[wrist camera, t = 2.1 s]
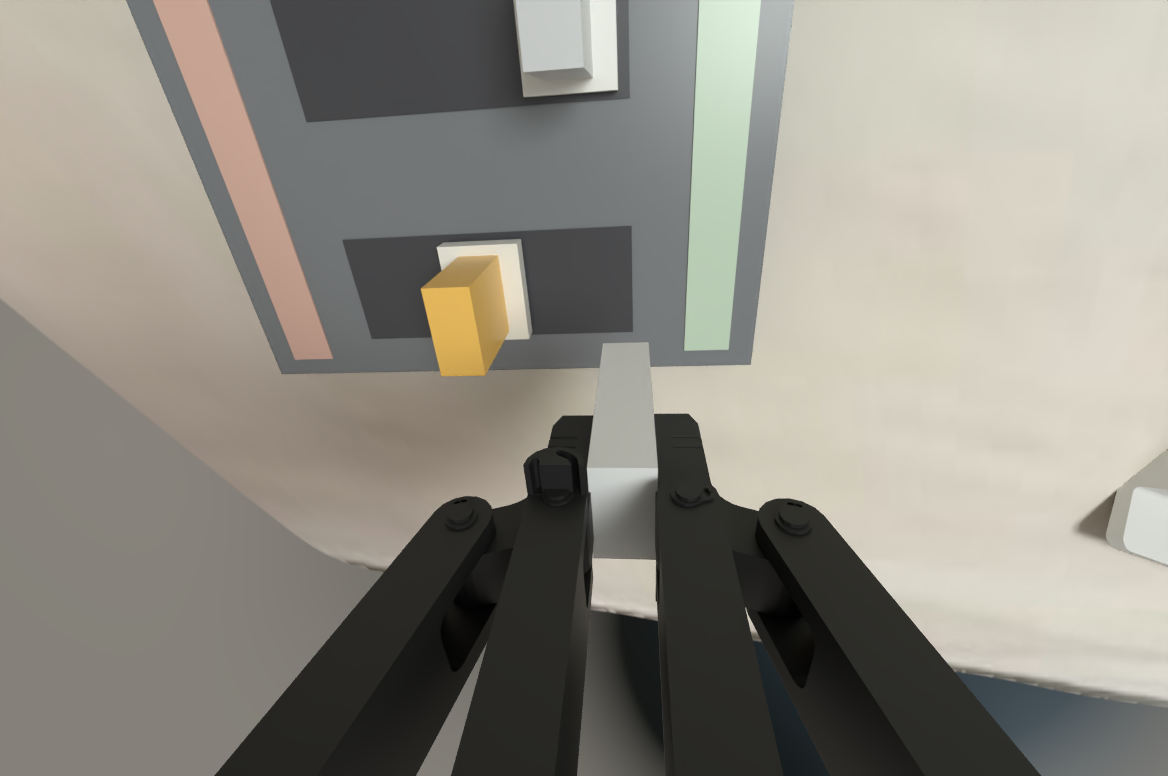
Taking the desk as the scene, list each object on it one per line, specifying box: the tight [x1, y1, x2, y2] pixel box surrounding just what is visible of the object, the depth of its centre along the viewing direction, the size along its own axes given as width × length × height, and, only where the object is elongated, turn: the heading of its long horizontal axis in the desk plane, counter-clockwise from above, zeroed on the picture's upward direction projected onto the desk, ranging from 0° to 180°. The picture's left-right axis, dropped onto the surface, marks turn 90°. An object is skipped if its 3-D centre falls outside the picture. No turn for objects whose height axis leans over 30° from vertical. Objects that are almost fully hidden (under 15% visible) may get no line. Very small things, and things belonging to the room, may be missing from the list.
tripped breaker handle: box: [421, 239, 532, 376], centre depth 23 cm, size 5×4×6 cm
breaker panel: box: [126, 0, 794, 374], centre depth 22 cm, size 20×28×8 cm
